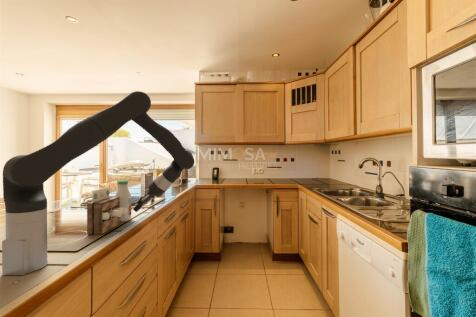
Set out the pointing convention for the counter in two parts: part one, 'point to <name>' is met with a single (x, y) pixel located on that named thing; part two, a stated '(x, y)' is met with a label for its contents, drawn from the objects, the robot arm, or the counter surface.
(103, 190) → the card
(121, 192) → the milk bottle
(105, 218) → the left button
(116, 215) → the middle button
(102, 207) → the brown wooden box
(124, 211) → the right button
